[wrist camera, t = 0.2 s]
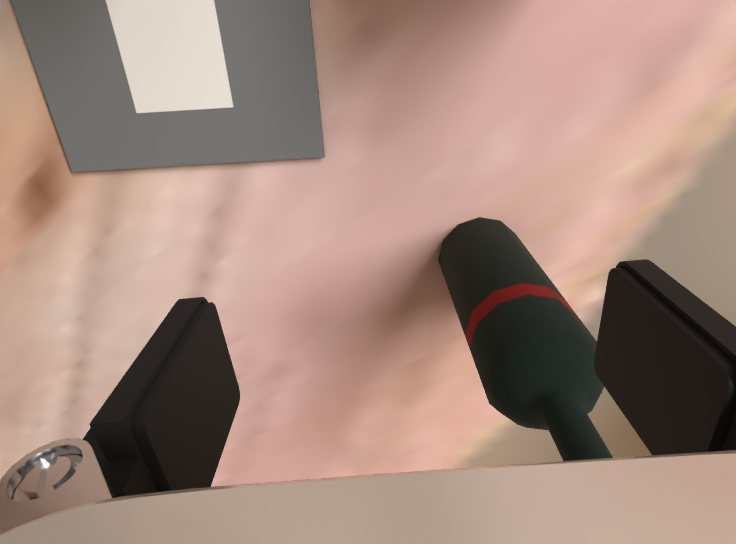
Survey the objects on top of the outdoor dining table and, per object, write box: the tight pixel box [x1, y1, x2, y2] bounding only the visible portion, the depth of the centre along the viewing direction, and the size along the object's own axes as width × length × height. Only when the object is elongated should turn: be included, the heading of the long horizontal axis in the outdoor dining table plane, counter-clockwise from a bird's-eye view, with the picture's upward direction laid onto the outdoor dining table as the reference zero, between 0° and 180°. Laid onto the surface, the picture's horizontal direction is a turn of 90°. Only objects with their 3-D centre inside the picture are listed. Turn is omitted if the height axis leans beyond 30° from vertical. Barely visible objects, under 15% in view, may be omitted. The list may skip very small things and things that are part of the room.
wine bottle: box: [438, 217, 613, 461], centre depth 31 cm, size 8×10×30 cm
